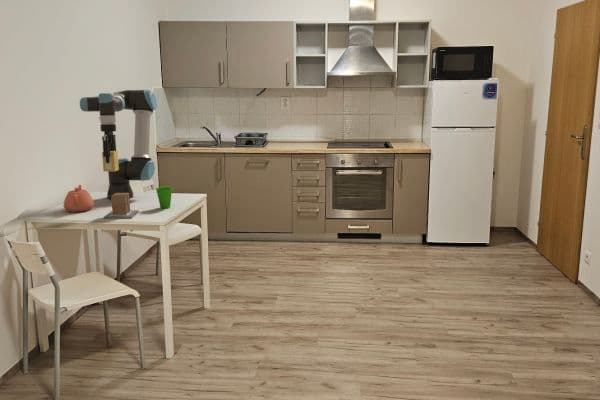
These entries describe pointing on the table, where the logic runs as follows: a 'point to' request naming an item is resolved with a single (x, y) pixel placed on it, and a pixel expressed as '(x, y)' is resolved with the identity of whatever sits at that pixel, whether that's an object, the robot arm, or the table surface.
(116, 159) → the mustard block
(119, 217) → the board
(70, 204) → the orange rounded lump
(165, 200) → the cup
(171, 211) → the table surface
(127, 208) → the walnut block
